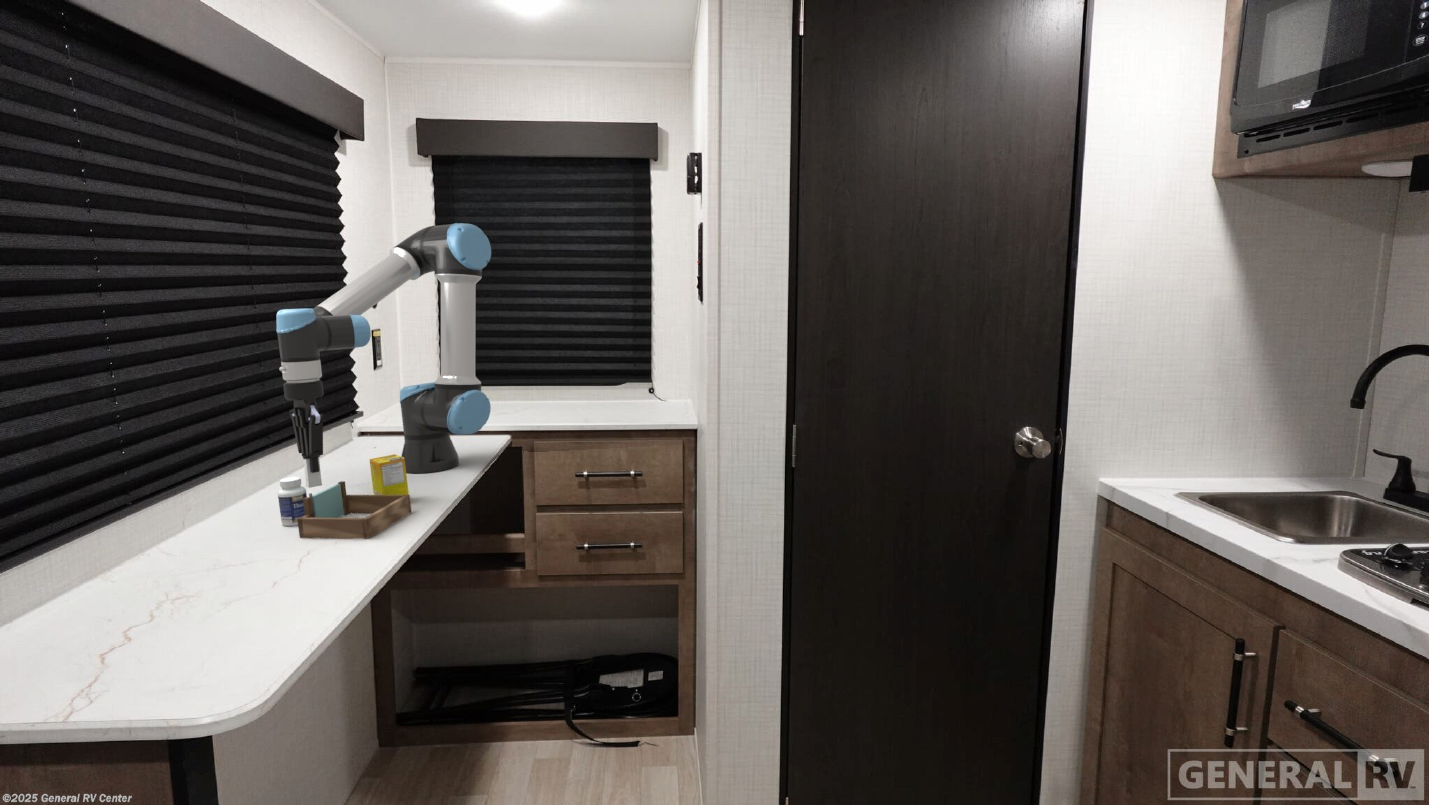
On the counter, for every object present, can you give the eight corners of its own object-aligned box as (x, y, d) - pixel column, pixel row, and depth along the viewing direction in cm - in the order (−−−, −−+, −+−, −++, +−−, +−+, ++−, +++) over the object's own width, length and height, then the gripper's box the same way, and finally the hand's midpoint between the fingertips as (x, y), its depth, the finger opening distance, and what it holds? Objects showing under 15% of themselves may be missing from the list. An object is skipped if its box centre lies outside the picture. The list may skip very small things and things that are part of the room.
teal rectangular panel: (341, 514, 172) (337, 484, 170) (344, 514, 172) (340, 484, 170) (315, 528, 163) (310, 496, 161) (318, 528, 163) (314, 496, 161)
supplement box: (399, 498, 184) (394, 453, 182) (410, 503, 180) (405, 457, 178) (373, 504, 180) (368, 458, 178) (384, 509, 175) (379, 462, 174)
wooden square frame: (348, 511, 175) (344, 477, 173) (411, 512, 173) (407, 477, 171) (299, 538, 158) (294, 500, 157) (368, 538, 156) (364, 500, 155)
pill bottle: (297, 527, 165) (292, 482, 164) (276, 526, 166) (270, 482, 165) (315, 519, 170) (310, 475, 169) (294, 518, 171) (288, 475, 170)
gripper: (273, 380, 170) (285, 484, 174) (295, 384, 162) (307, 494, 165) (309, 376, 176) (320, 478, 180) (332, 380, 167) (343, 487, 171)
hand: (314, 485), depth 173 cm, fingers closed
